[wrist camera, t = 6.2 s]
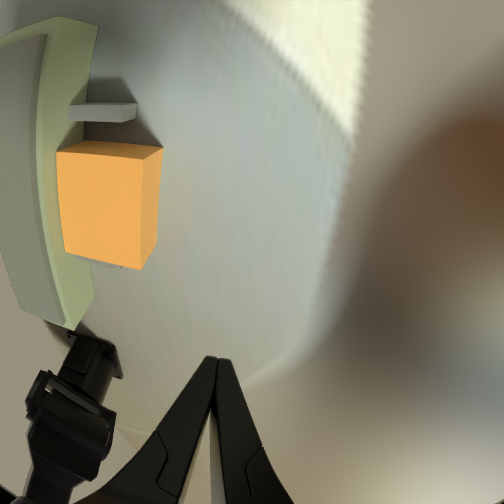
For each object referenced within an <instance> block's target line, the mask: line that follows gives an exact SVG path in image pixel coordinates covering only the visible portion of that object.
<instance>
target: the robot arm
mask: <svg viewBox="0 0 504 504" xmlns="http://www.w3.org/2000/svg"><path fill="white" fill-rule="evenodd" d="M66 337H67V339H68V342H69V344H70V347H71V348H70V350H69V352H68V354H67V356H66V358H65V359H64V361H63V365H62V367H61V369H60V371H59V372H58V374H57V376H56V375H54V374H53V373H52V372H51V371H50V370H48V371H47V372H46V371H43V370H40V372H39V374H38V376H37V378H36V379H35V381H34V383H33V386H32V387H31V389H30V391H29V393H28V396H27V398H26V400H25V403H26V407H27V410H26V411H27V415H26V418H27V419H28V420H30V421H31V422H30V425H29V427H28V430H27V432H26V438H27V443H28V448H29V453H30V458H31V462H32V463H31V467H30V470H29V473H28V476H27V479H26V483H25V486H24V489H23V493H22V496H19V497H18V496H16V495H15V494H13V493H12V492H11V491H9V490H8V489H6V488H5V487H3V486H2V485H1V484H0V504H69V500H70V496H71V493H72V490H73V488H74V487H76V486H78V485H79V484H81V483H83V482H84V481H86V480H87V481H89V482H91V481H92V480H93V479H95V477H97V474H98V471H99V466H100V463H101V461H103V460H104V459H105V458H106V457H107V455H108V453H109V451H110V449H111V445H112V440H113V433H114V426H115V420H116V414H117V413H116V412H114V411H111V410H109V409H107V408H106V407H104V406H102V404H103V401H104V398H105V395H106V393H107V390H108V387H109V385H110V382H111V380H112V377H114V378H118V379H122V378H123V373H122V370H121V366H120V362H119V358H118V354H117V350H116V348H115V347H114V346H112V345H109V344H106V343H102V342H99V341H96V340H93V339H90V338H87V337H84V336H82V335H79V334H76V333H73V332H70V331H68V332H67V333H66ZM45 388H47V389H48V390H50V393H49V392H47V391H46V390H45ZM209 412H210V469H211V470H210V472H211V500H212V504H294V502H293V501H292V499H291V498H290V496H289V495H288V493H287V492H286V490H285V489H284V487H283V485H282V484H281V482H280V480H279V479H278V477H277V475H276V473H275V472H274V470H273V468H272V466H271V464H270V461H269V459H268V457H267V455H266V452H265V450H264V447H262V443H261V440H260V438H259V435H258V432H257V430H256V427H255V425H254V422H253V419H252V417H251V414H250V411H249V409H248V406H247V403H246V401H245V398H244V396H243V393H242V390H241V387H240V384H239V381H238V379H237V376H236V373H235V370H234V367H233V364H232V362H231V360H230V359H225V358H219V359H218V358H217V357H214V356H206V357H205V358H204V359H203V361H202V362H201V364H200V365H199V367H198V368H197V370H196V371H195V373H194V374H193V376H192V377H191V379H190V380H189V381H188V383H187V384H186V386H185V387H184V389H183V390H182V392H181V393H180V395H179V396H178V397H177V399H176V400H175V402H174V403H173V405H172V406H171V408H170V409H169V410H168V412H167V413H166V415H165V416H164V418H163V419H162V420H161V422H160V423H159V425H158V426H157V427H156V430H154V432H153V433H152V434H151V436H150V437H149V439H148V440H147V441H146V442H145V444H144V445H143V446H142V448H141V449H140V450H139V451H138V452H137V453H136V454H135V456H134V457H133V458H132V459H131V460H130V461H129V462H128V463H127V464H126V465H125V466H124V467H123V468H122V469H121V470H120V471H119V472H118V473H117V474H116V475H115V476H114V477H113V478H112V479H111V480H109V481H108V482H107V483H106V484H105V485H104V486H102V487H101V488H100V489H98V490H97V491H95V492H94V493H92V494H90V495H88V496H87V497H85V498H83V499H81V500H79V501H77V502H76V503H73V504H183V503H184V499H185V496H186V492H187V489H188V486H189V482H190V479H191V475H192V472H193V469H194V465H195V462H196V458H197V455H198V451H199V448H200V444H201V441H202V437H203V434H204V431H205V427H206V424H207V420H208V416H209ZM496 504H504V500H502V501H500V502H498V503H496Z"/></svg>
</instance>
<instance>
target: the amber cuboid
mask: <svg viewBox="0 0 504 504" xmlns="http://www.w3.org/2000/svg"><path fill="white" fill-rule="evenodd" d="M162 156H163V147H156V146H147V145H138V144H128V143H117V142H104V141H88V140H84V141H81V142H79V143H76V144H74V145H71V146H69V147H67V148H64V149H62V150H59V151H57V152H56V165H57V186H58V200H59V210H60V219H61V227H62V234H63V241H64V247H65V252H67V253H71V254H75V255H79V256H83V257H87V258H91V259H95V260H99V261H103V262H108V263H112V264H116V265H120V266H125V267H129V268H133V269H138V270H141V269H142V267H143V266H144V264H145V262H146V261H147V259H148V257H149V255H150V254H151V252H152V250H153V249H154V247H155V246H156V239H157V217H158V200H159V187H160V176H161V165H162Z"/></svg>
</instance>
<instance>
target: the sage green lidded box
mask: <svg viewBox="0 0 504 504" xmlns="http://www.w3.org/2000/svg"><path fill="white" fill-rule="evenodd" d="M98 28H99V26H97V25H93V24H90V23H86V22H82V21H78V20H74V19H69V18H65V17H60V16H57V17H53V18H50V19H47V20H44V21H40V22H37V23H34V24H32V25H29V26H26V27H23V28H21V29H18V30H16V31H13V32H11V33H9V34H6V35H4V36H2V37H0V248H1V252H2V255H3V259H4V262H5V266H6V269H7V272H8V275H9V278H10V281H11V284H12V287H13V289H14V292H15V295H16V298H17V300H18V302H19V305H20V308H21V309H23V310H24V311H26V312H28V313H30V314H33V315H35V316H37V317H40V318H42V319H44V320H47V321H49V322H52V323H54V324H57V325H60V326H62V327H65V328H68V329H70V330H73V331H74V330H75V328H76V327H77V325H78V323H79V321H80V320H81V318H82V317H83V315H84V313H85V312H86V310H87V308H88V307H89V305H90V304H91V302H92V301H93V299H94V297H95V291H94V286H93V280H92V274H91V268H90V262H92V263H96V264H100V265H104V266H108V267H112V268H116V269H121V268H122V266H120V265H116V264H112V263H108V262H103V261H99V260H95V259H91V258H87V257H83V256H79V255H75V254H71V253H67V252H65V247H64V241H63V234H62V227H61V219H60V210H59V200H58V186H57V165H56V152H57V151H59V150H62V149H64V148H67V147H69V146H71V145H74V144H76V143H79V142H81V141H83V135H84V121H99V122H125V121H129V120H133V119H136V112H137V105H138V103H117V102H86V97H87V89H88V81H89V74H90V68H91V62H92V56H93V51H94V46H95V42H96V37H97V33H98Z"/></svg>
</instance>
